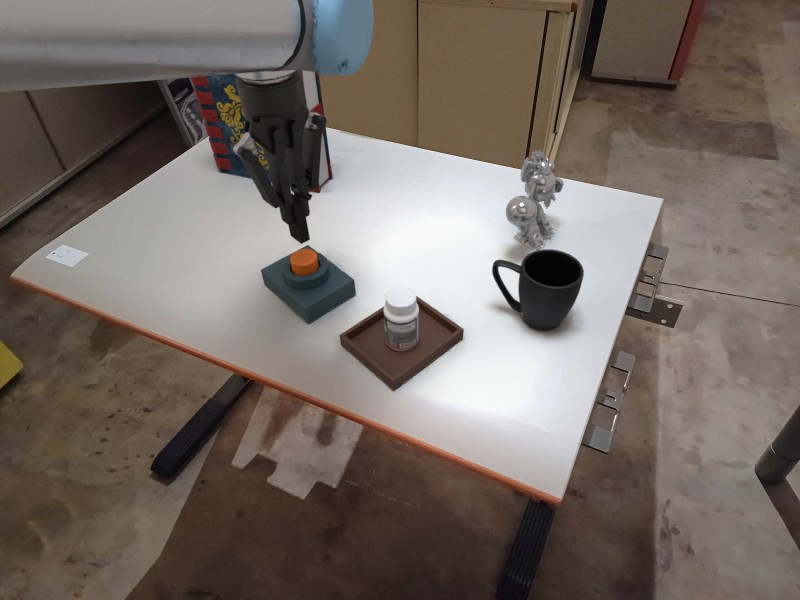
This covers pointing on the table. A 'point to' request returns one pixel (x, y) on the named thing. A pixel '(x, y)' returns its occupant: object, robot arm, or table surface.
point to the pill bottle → (401, 319)
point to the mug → (543, 287)
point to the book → (229, 120)
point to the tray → (401, 365)
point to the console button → (304, 262)
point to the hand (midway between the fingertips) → (300, 237)
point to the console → (309, 286)
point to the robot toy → (534, 200)
